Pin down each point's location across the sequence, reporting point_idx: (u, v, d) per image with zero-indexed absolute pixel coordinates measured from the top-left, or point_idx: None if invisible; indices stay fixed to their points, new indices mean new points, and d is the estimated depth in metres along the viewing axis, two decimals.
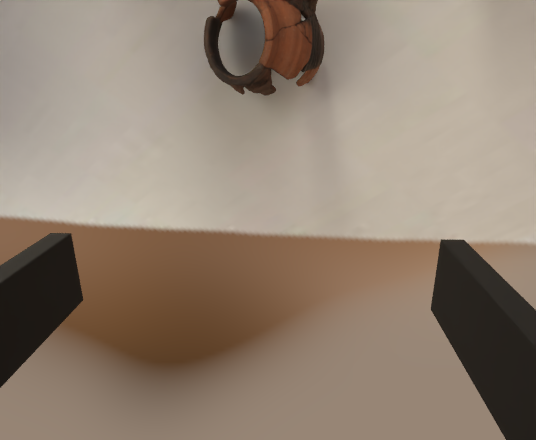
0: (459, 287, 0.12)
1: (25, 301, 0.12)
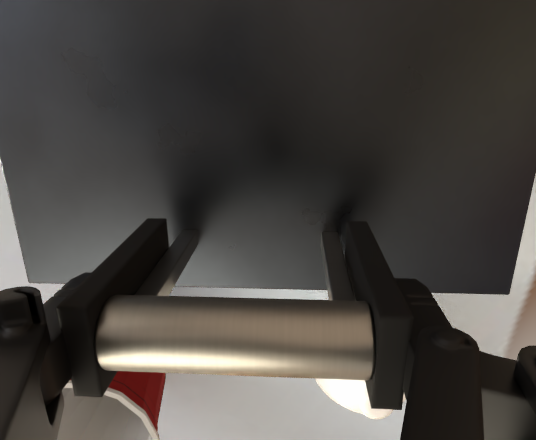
0: (352, 260, 0.14)
1: (142, 276, 0.13)
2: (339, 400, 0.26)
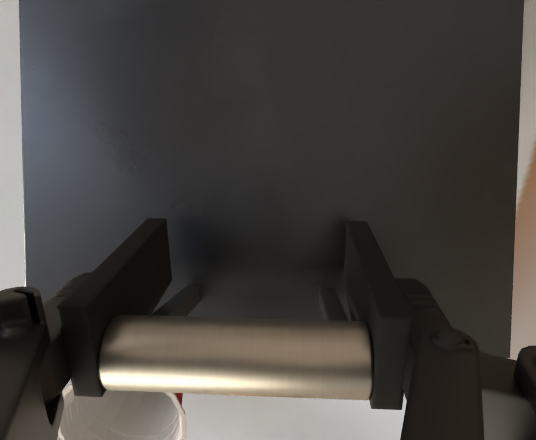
0: (352, 260, 0.14)
1: (142, 276, 0.13)
2: None
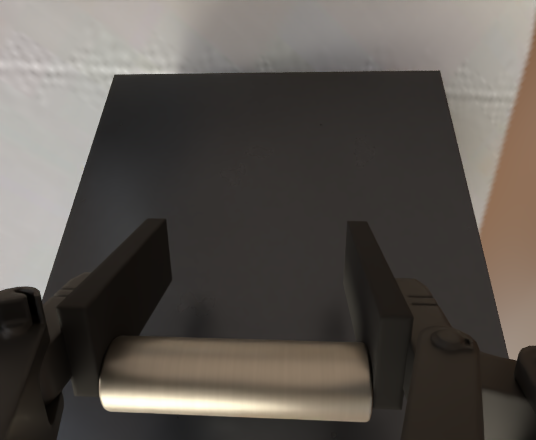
0: (352, 260, 0.14)
1: (142, 276, 0.13)
2: None
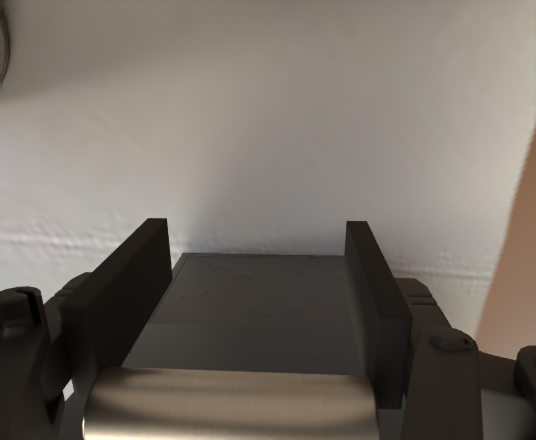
0: (352, 260, 0.14)
1: (143, 276, 0.13)
2: None
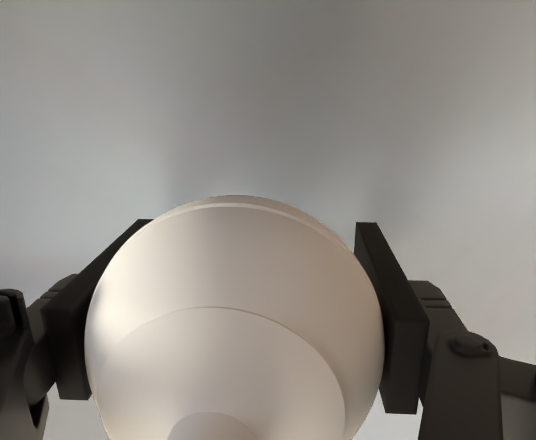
0: (362, 262, 0.14)
1: None
2: None
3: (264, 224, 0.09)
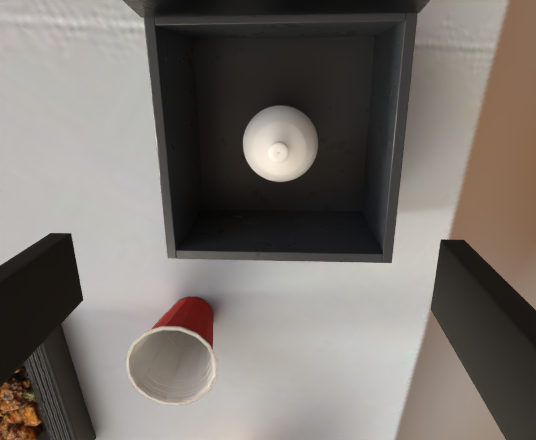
0: (459, 286, 0.12)
1: (25, 301, 0.12)
2: (259, 163, 0.39)
3: (288, 108, 0.39)
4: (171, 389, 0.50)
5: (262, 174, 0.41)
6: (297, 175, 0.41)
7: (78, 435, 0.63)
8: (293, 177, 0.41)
